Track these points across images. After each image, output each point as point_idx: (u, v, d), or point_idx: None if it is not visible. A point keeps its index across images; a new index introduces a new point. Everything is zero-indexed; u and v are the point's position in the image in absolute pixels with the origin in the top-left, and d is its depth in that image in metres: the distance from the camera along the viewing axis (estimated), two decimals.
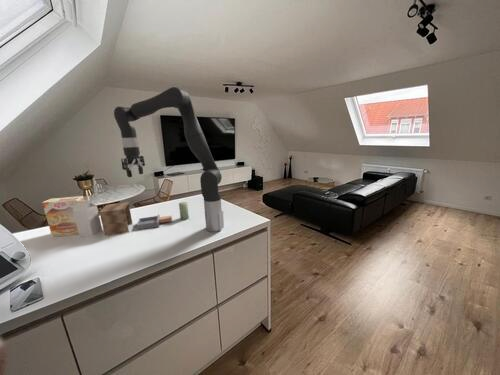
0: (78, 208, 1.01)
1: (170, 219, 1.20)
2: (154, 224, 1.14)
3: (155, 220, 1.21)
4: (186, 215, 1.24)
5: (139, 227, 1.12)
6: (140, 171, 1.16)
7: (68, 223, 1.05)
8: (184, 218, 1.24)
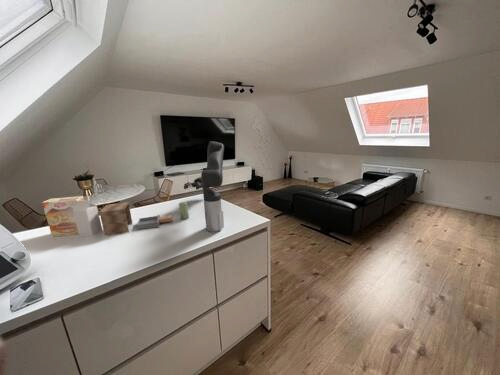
0: (78, 208, 1.01)
1: (170, 219, 1.20)
2: (154, 224, 1.14)
3: (155, 220, 1.21)
4: (186, 215, 1.24)
5: (139, 227, 1.12)
6: None
7: (68, 223, 1.05)
8: (184, 218, 1.24)
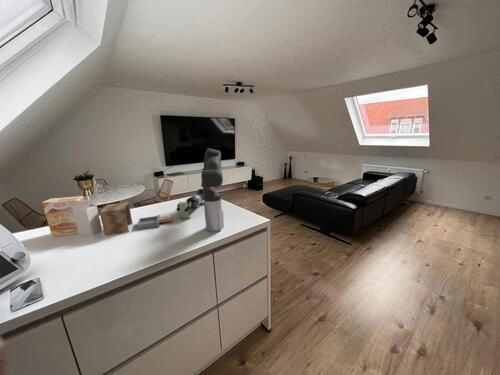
0: (78, 208, 1.01)
1: (170, 219, 1.20)
2: (154, 224, 1.14)
3: (155, 220, 1.21)
4: (186, 215, 1.24)
5: (139, 227, 1.12)
6: None
7: (68, 223, 1.05)
8: (184, 218, 1.24)
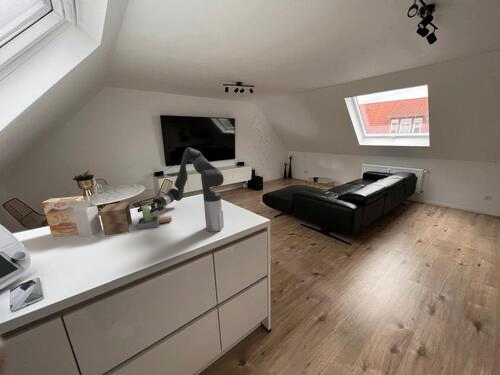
0: (78, 208, 1.01)
1: (170, 219, 1.20)
2: (153, 224, 1.14)
3: (155, 220, 1.21)
4: (150, 219, 1.15)
5: (139, 227, 1.12)
6: None
7: (68, 223, 1.05)
8: None
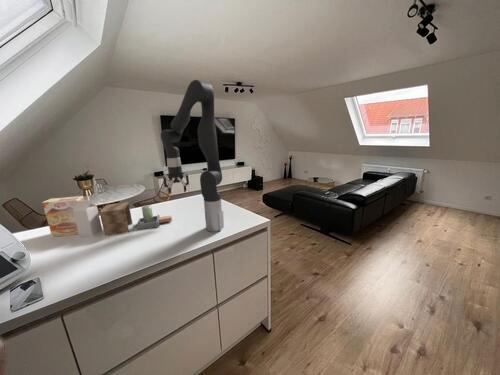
0: (78, 208, 1.01)
1: (170, 219, 1.20)
2: (153, 224, 1.14)
3: (155, 220, 1.21)
4: (150, 219, 1.15)
5: (139, 227, 1.12)
6: None
7: (68, 223, 1.05)
8: (147, 222, 1.15)
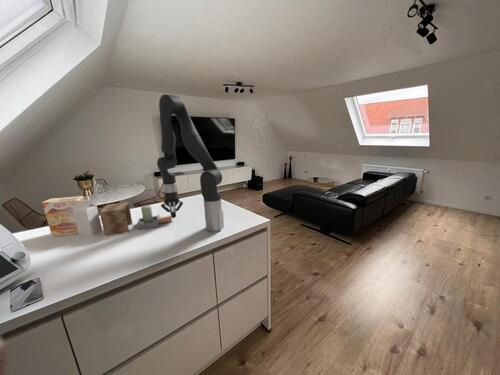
0: (78, 208, 1.01)
1: (170, 219, 1.20)
2: (153, 224, 1.14)
3: (155, 220, 1.21)
4: (149, 220, 1.15)
5: (139, 227, 1.12)
6: (173, 215, 1.22)
7: (68, 223, 1.05)
8: None
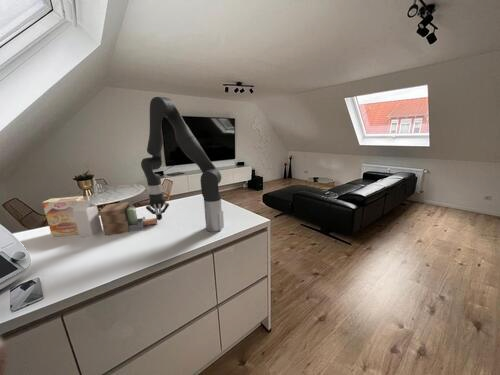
0: (78, 208, 1.01)
1: (155, 221, 1.17)
2: (138, 226, 1.11)
3: (140, 222, 1.18)
4: (133, 222, 1.12)
5: None
6: None
7: (68, 223, 1.05)
8: None
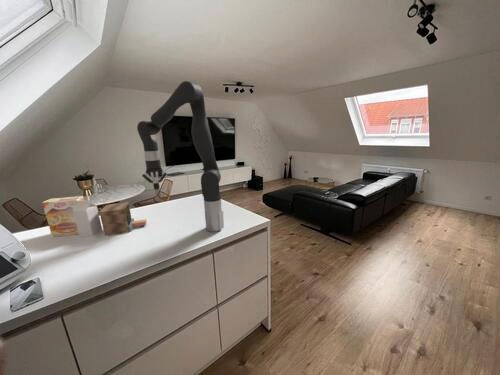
0: (78, 208, 1.01)
1: (144, 223, 1.15)
2: None
3: (129, 224, 1.16)
4: None
5: None
6: None
7: (68, 223, 1.05)
8: None
